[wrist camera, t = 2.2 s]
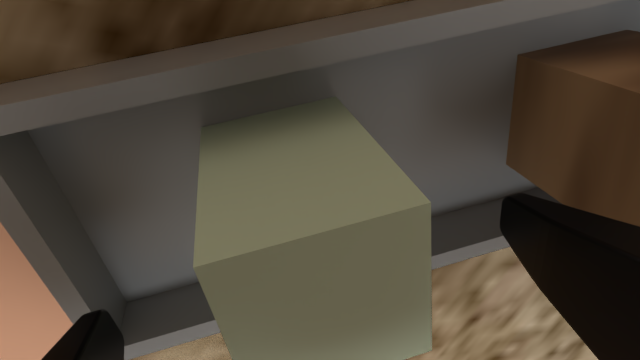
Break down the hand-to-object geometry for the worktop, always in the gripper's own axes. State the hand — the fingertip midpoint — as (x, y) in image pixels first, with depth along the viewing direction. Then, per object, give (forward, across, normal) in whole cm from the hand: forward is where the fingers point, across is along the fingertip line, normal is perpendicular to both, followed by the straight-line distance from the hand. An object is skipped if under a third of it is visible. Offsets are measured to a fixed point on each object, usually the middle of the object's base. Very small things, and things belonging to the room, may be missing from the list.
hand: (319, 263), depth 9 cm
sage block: (+4, 0, 0) cm, 5 cm away
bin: (+5, -3, 0) cm, 6 cm away
